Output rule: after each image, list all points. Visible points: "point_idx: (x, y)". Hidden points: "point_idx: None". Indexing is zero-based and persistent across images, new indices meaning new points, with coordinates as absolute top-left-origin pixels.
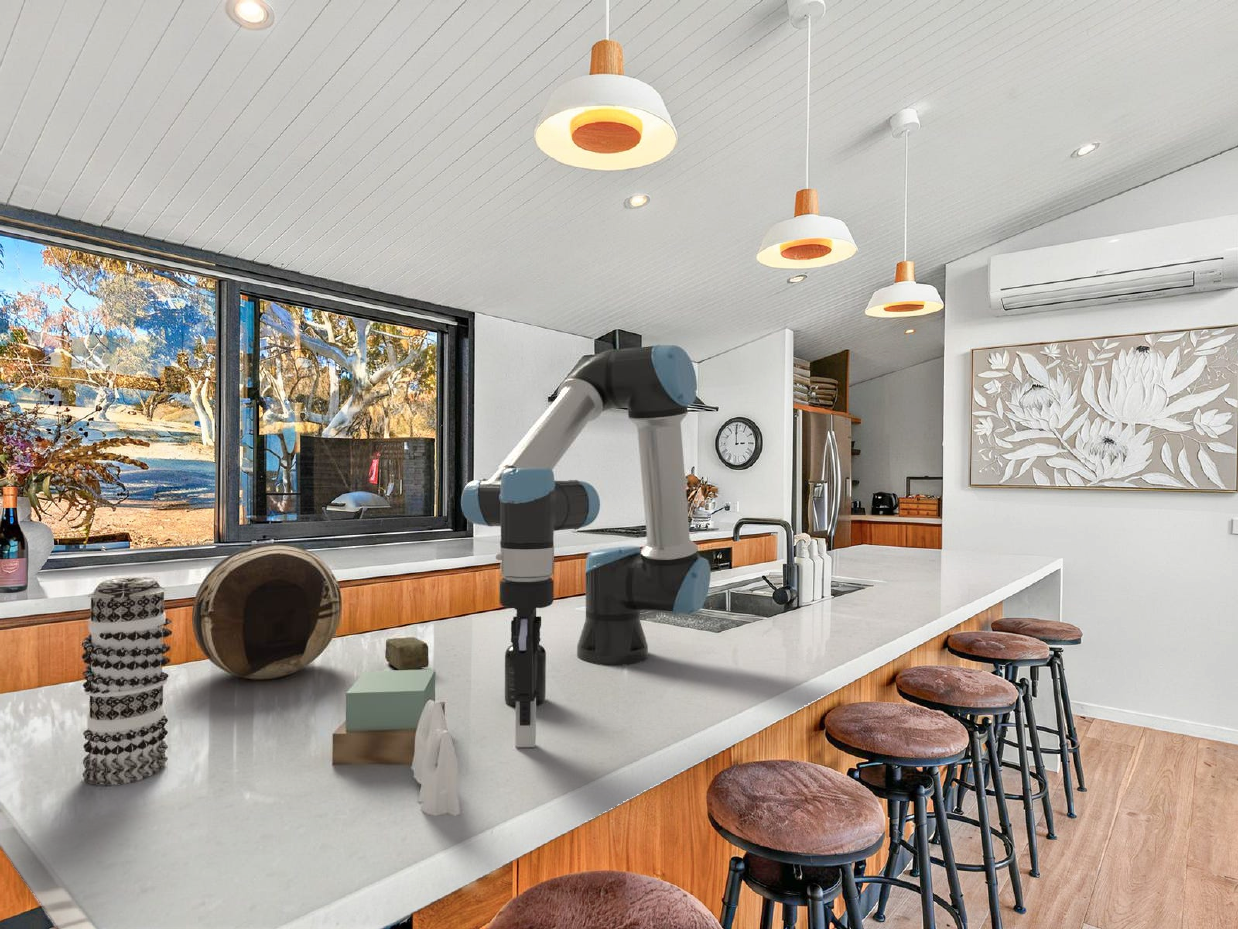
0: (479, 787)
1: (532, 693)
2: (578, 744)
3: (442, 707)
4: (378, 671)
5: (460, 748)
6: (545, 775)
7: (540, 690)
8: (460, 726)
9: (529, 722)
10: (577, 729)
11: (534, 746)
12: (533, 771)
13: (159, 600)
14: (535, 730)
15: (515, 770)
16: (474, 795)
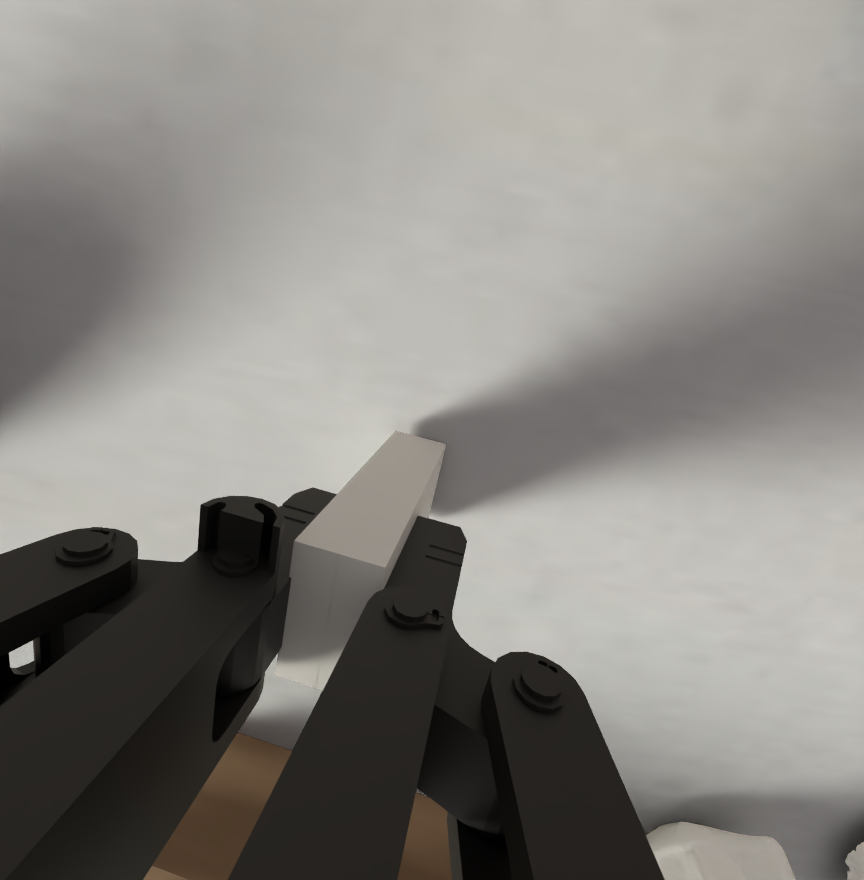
0: (755, 711)
1: (608, 757)
2: (428, 199)
3: (166, 859)
4: None
5: None
6: (762, 447)
7: (228, 514)
8: None
9: (464, 542)
10: (221, 165)
11: (445, 447)
12: (690, 490)
13: None
14: (396, 457)
15: (645, 560)
16: (822, 739)
